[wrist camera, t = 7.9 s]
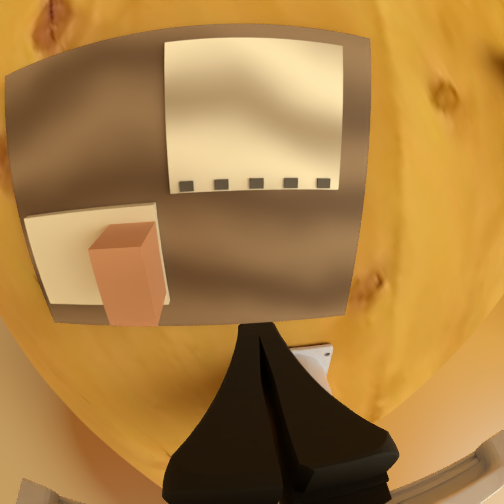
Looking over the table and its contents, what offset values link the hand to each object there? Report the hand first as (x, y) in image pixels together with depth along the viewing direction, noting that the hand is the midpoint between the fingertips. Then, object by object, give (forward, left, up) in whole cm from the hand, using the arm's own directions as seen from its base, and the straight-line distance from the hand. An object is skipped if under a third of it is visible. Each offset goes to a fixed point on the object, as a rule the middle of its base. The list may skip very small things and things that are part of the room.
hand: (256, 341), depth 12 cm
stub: (0, +10, -8) cm, 13 cm away
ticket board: (+4, +4, -9) cm, 11 cm away
